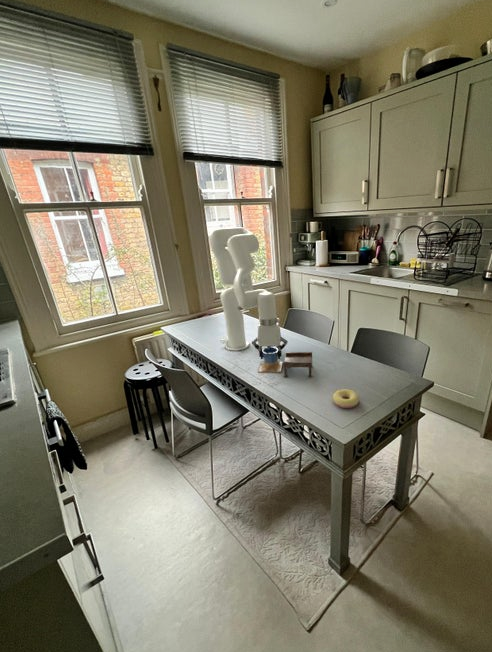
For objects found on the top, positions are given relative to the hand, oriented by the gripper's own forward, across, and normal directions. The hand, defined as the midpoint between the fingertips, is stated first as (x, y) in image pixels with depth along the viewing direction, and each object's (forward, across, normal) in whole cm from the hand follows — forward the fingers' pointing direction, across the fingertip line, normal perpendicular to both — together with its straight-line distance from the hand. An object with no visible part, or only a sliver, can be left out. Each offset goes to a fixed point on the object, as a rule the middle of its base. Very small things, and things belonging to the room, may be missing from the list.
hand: (270, 357), depth 144 cm
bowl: (+1, 0, 0) cm, 1 cm away
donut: (+6, -32, +28) cm, 43 cm away
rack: (+5, -13, +4) cm, 14 cm away
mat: (+5, 0, 0) cm, 5 cm away
